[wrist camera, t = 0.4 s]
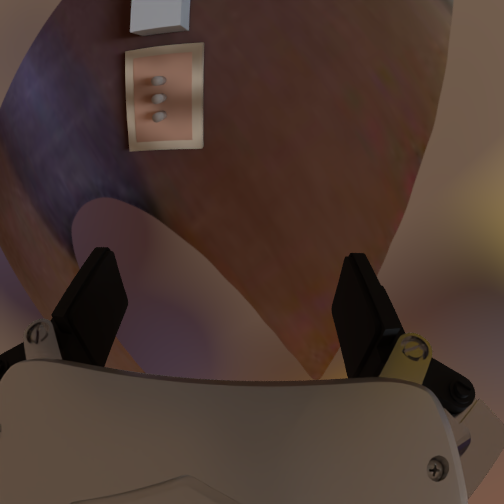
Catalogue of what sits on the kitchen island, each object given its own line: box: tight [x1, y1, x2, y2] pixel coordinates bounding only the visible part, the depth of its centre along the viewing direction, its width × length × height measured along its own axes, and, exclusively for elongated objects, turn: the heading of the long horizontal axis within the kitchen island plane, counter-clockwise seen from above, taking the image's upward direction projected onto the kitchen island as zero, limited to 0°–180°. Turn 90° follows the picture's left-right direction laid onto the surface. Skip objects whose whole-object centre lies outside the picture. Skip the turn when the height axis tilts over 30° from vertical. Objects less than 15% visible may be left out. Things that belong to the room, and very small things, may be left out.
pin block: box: [125, 43, 204, 151], centre depth 31 cm, size 14×10×4 cm
